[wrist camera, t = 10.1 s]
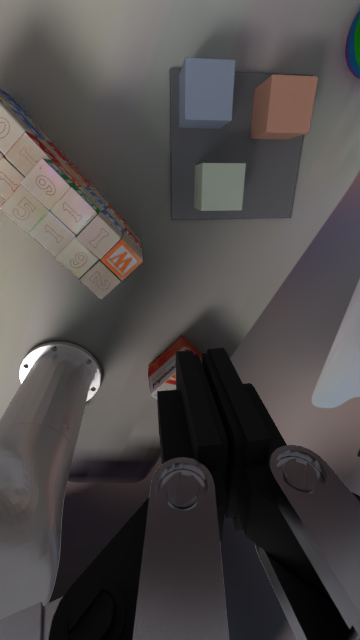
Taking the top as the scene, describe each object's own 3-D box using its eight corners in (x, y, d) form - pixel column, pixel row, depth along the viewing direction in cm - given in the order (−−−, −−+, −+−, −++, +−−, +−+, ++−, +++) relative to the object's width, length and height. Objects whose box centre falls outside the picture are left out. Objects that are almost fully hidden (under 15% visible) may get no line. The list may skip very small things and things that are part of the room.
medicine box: (146, 364, 49) (148, 395, 42) (180, 333, 47) (187, 359, 40) (205, 407, 55) (214, 441, 48) (236, 381, 53) (252, 412, 46)
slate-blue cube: (219, 128, 35) (231, 120, 31) (179, 127, 34) (185, 119, 30) (222, 76, 33) (235, 59, 28) (179, 74, 32) (185, 57, 28)
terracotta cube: (288, 139, 36) (308, 133, 32) (250, 138, 36) (266, 132, 31) (294, 90, 34) (318, 76, 30) (254, 88, 34) (272, 74, 29)
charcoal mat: (289, 217, 41) (290, 217, 41) (171, 219, 39) (172, 219, 39) (311, 76, 34) (312, 75, 34) (169, 70, 32) (170, 68, 32)
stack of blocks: (-28, 135, 33) (-112, 110, 22) (7, 92, 32) (-63, 43, 20) (111, 270, 41) (101, 301, 30) (142, 240, 40) (144, 262, 29)
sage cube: (230, 207, 39) (241, 210, 35) (194, 207, 39) (201, 210, 34) (232, 165, 37) (245, 163, 33) (194, 165, 36) (202, 163, 32)
